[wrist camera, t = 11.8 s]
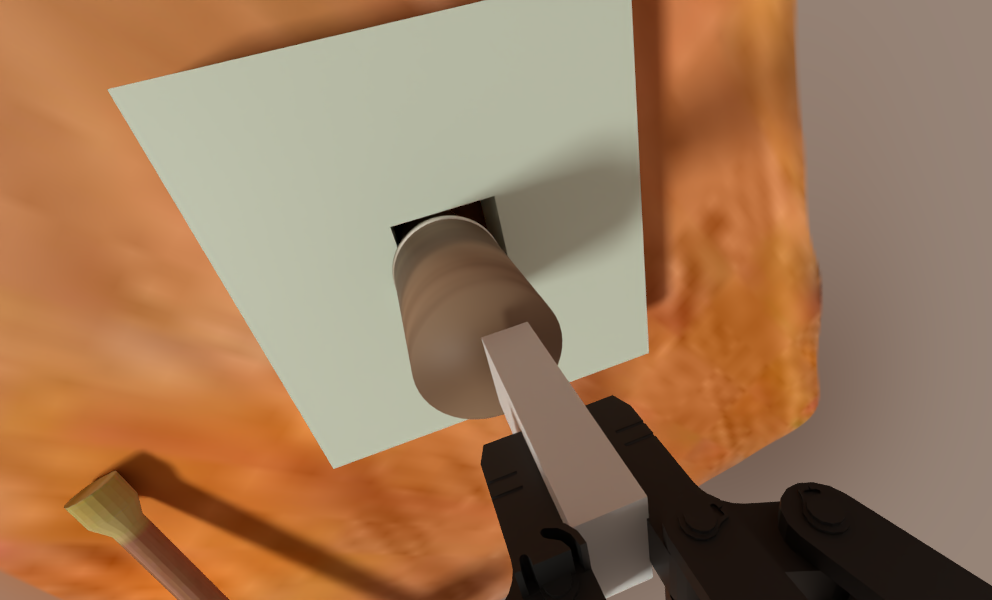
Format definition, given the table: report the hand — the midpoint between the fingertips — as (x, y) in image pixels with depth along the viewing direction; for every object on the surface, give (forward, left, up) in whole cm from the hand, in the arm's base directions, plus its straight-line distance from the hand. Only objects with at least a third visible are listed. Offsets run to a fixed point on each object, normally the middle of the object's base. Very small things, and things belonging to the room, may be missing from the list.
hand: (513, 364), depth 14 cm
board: (0, 0, -13) cm, 13 cm away
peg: (0, -1, -13) cm, 13 cm away
